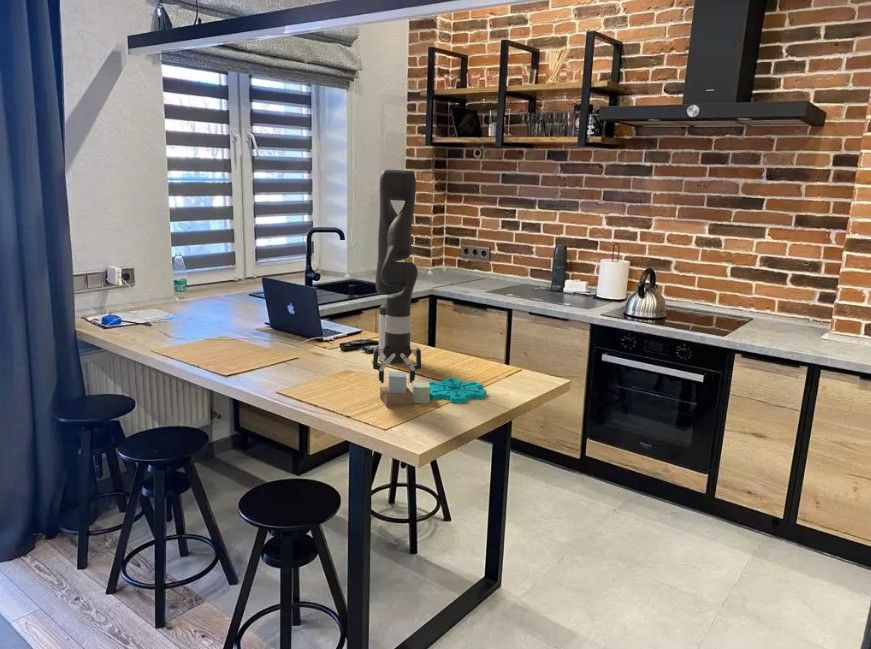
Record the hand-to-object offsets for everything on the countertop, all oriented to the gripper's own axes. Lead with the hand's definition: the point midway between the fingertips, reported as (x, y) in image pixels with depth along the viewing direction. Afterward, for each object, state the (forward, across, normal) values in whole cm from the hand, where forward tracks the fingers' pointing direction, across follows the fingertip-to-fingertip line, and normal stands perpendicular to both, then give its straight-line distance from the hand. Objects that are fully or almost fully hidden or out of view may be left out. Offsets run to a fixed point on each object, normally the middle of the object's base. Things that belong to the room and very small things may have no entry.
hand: (396, 382), depth 195 cm
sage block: (+4, -10, -1) cm, 11 cm away
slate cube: (+3, 0, 0) cm, 3 cm away
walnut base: (+6, 0, 0) cm, 7 cm away
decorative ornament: (+7, -19, -8) cm, 22 cm away
